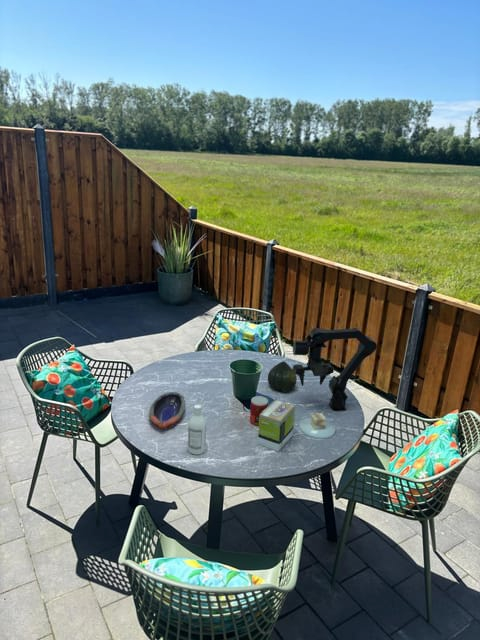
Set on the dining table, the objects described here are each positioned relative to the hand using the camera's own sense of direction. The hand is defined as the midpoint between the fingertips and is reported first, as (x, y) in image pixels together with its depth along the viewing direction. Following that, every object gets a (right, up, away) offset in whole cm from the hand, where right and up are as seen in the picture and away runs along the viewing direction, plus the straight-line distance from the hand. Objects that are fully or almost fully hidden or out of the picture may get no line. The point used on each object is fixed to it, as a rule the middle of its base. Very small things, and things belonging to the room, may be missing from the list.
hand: (311, 385), depth 218 cm
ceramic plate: (0, -18, -14) cm, 23 cm away
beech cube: (0, -16, -15) cm, 22 cm away
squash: (-13, -5, +22) cm, 26 cm away
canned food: (-26, -15, -11) cm, 32 cm away
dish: (-67, -13, -9) cm, 69 cm away
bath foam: (-52, -22, -34) cm, 65 cm away
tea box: (-19, -20, -24) cm, 37 cm away
